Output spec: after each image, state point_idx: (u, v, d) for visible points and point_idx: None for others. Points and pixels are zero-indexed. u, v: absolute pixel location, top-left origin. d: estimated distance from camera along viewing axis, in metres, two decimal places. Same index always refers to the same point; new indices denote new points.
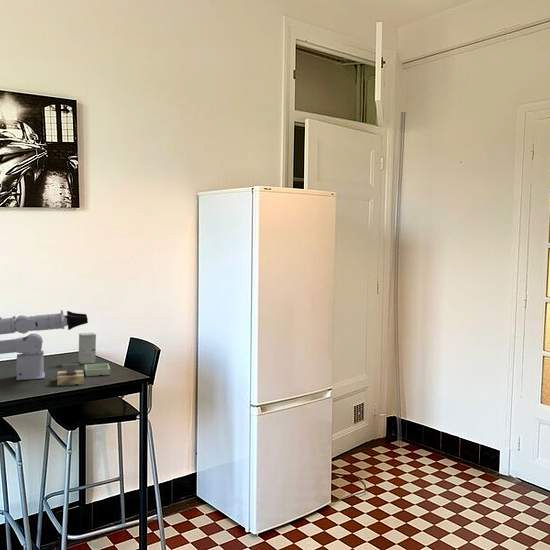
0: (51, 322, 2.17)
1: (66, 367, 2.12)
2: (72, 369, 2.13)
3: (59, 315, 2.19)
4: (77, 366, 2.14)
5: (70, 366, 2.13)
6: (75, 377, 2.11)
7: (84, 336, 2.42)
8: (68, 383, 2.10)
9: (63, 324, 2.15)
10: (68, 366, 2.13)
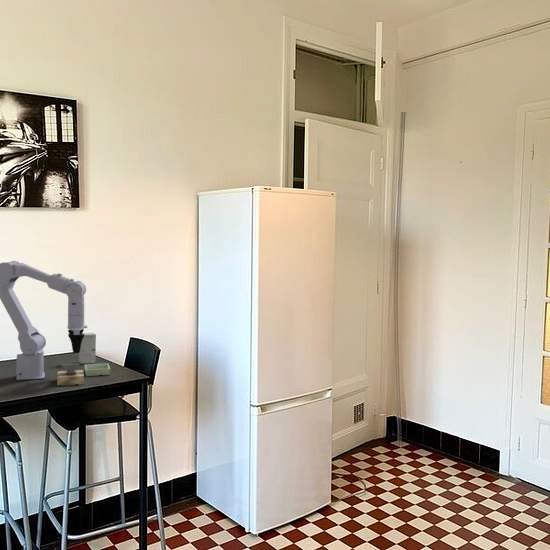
0: (76, 317, 2.15)
1: (66, 367, 2.12)
2: (72, 369, 2.13)
3: (82, 325, 2.18)
4: (77, 366, 2.14)
5: (70, 366, 2.13)
6: (75, 377, 2.11)
7: (84, 336, 2.42)
8: (68, 383, 2.10)
9: (75, 331, 2.11)
10: (68, 366, 2.13)
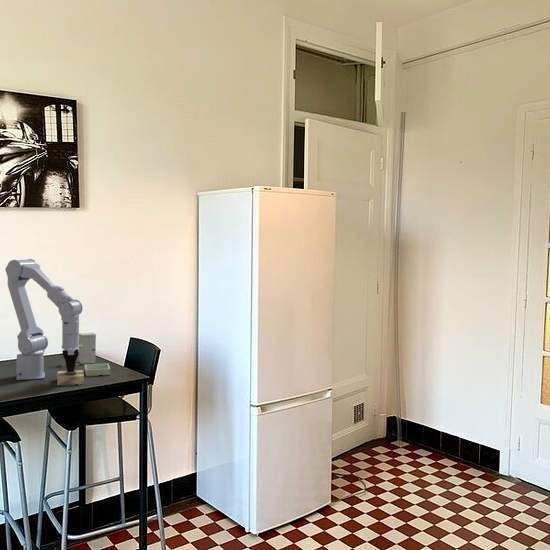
0: (71, 337, 2.11)
1: (66, 367, 2.12)
2: None
3: (77, 344, 2.13)
4: (77, 366, 2.14)
5: None
6: (75, 377, 2.11)
7: (84, 336, 2.42)
8: (68, 383, 2.10)
9: (70, 351, 2.07)
10: None
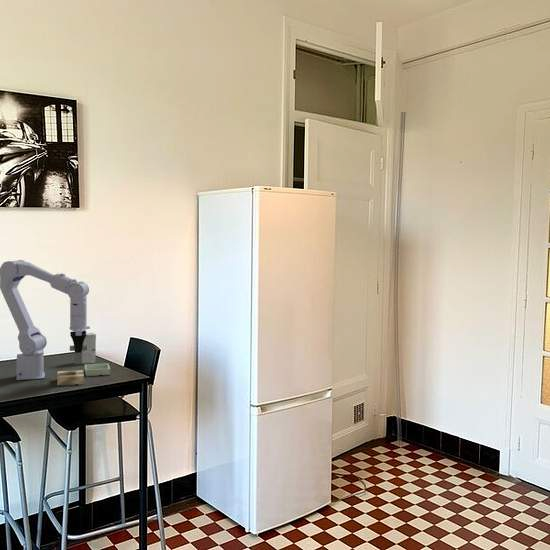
0: (78, 318, 2.14)
1: (74, 349, 2.16)
2: None
3: (85, 325, 2.16)
4: (85, 348, 2.17)
5: None
6: (75, 377, 2.11)
7: None
8: (68, 383, 2.10)
9: (77, 332, 2.10)
10: None
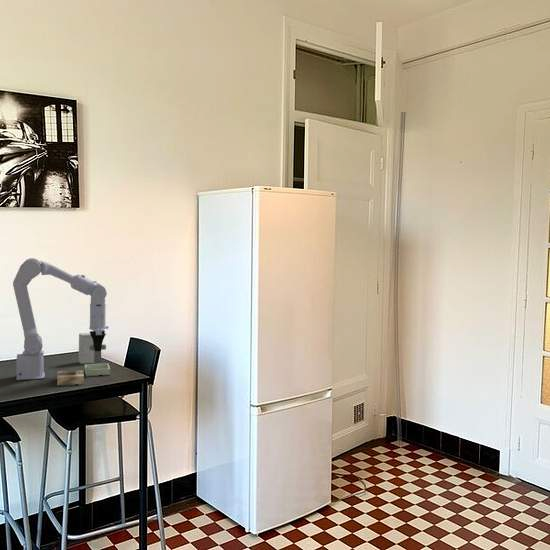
0: (98, 318, 2.24)
1: None
2: None
3: (104, 325, 2.26)
4: (104, 347, 2.27)
5: None
6: (75, 377, 2.11)
7: (84, 336, 2.42)
8: (68, 383, 2.10)
9: (98, 331, 2.20)
10: None
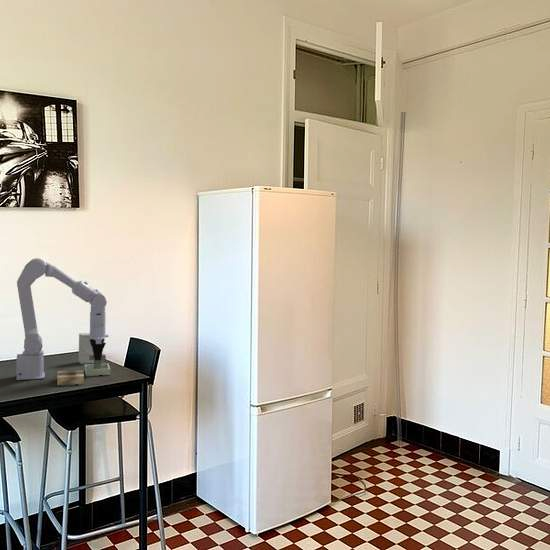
0: (98, 327, 2.24)
1: (93, 358, 2.26)
2: (99, 360, 2.27)
3: (104, 334, 2.26)
4: (103, 357, 2.27)
5: None
6: (75, 377, 2.11)
7: (84, 336, 2.42)
8: (68, 383, 2.10)
9: (97, 340, 2.20)
10: None
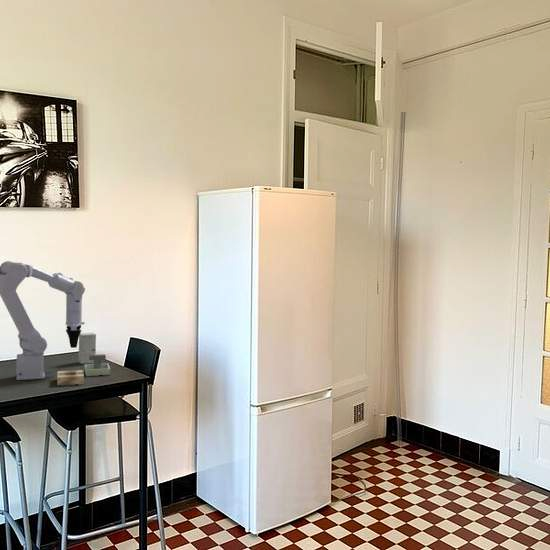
0: (74, 314, 2.28)
1: (93, 358, 2.26)
2: (99, 360, 2.27)
3: (80, 321, 2.30)
4: (103, 357, 2.27)
5: (97, 357, 2.27)
6: (75, 377, 2.11)
7: (84, 336, 2.42)
8: (68, 383, 2.10)
9: (73, 327, 2.24)
10: (95, 357, 2.26)
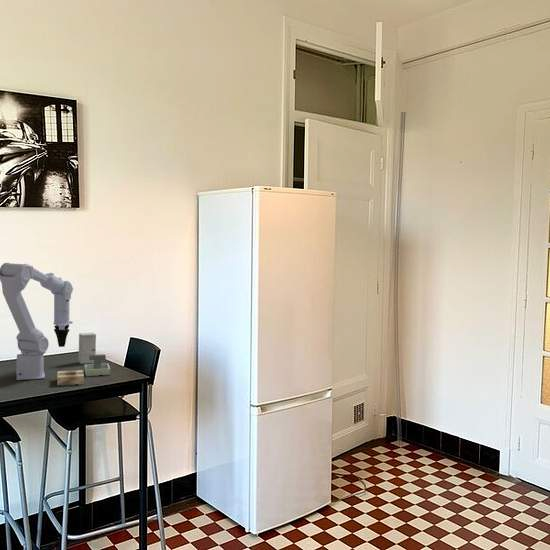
0: (62, 314, 2.30)
1: (93, 358, 2.26)
2: (99, 360, 2.27)
3: (68, 320, 2.32)
4: (103, 357, 2.27)
5: (97, 357, 2.27)
6: (75, 377, 2.11)
7: (84, 336, 2.42)
8: (68, 383, 2.10)
9: (61, 326, 2.26)
10: (95, 357, 2.26)
